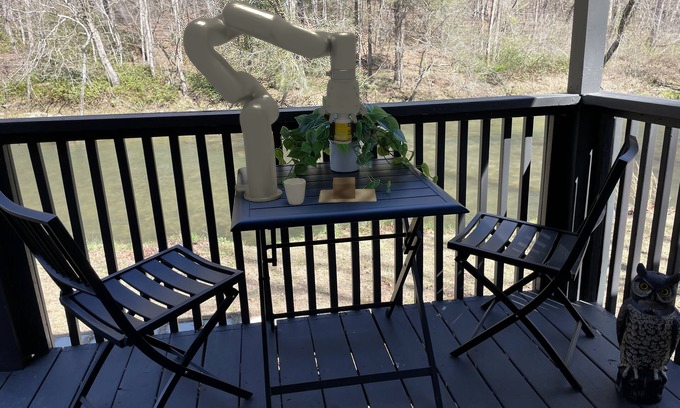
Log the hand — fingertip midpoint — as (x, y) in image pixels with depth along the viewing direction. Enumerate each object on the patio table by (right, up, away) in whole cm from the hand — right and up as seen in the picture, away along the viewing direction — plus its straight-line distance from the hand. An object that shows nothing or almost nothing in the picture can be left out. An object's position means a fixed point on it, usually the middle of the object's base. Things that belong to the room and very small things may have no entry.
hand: (343, 134), depth 163 cm
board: (+1, -20, +6) cm, 21 cm away
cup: (-15, -22, +2) cm, 26 cm away
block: (0, -19, +6) cm, 20 cm away
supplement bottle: (0, -3, +1) cm, 3 cm away
